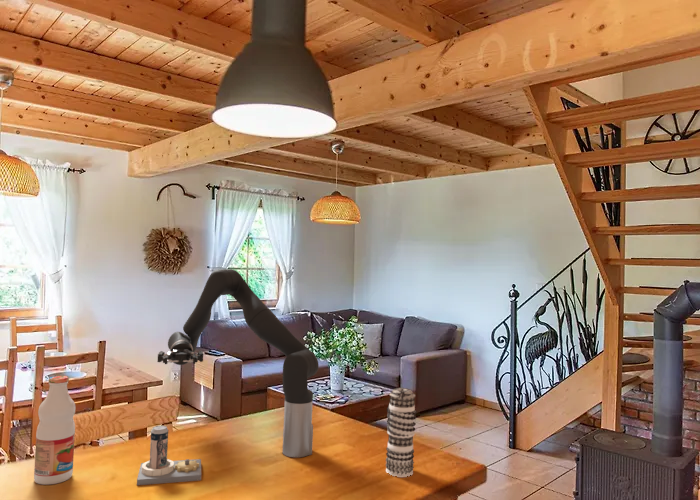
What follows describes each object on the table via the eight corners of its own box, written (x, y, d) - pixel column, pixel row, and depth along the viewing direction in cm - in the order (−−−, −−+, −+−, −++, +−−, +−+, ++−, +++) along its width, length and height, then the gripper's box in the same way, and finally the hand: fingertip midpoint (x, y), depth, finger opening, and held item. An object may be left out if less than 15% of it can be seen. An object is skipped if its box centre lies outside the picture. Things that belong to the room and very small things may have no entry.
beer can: (160, 473, 147) (162, 431, 147) (145, 471, 148) (147, 429, 148) (169, 467, 152) (171, 425, 152) (155, 465, 153) (157, 424, 153)
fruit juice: (40, 472, 148) (46, 373, 149) (76, 470, 150) (81, 373, 151) (28, 486, 139) (33, 381, 140) (66, 484, 141) (72, 381, 142)
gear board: (200, 464, 159) (201, 451, 159) (201, 480, 147) (201, 467, 148) (141, 468, 154) (141, 455, 154) (136, 485, 143) (137, 471, 143)
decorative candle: (394, 479, 153) (398, 394, 154) (378, 468, 161) (382, 387, 162) (420, 475, 157) (423, 392, 158) (403, 464, 166) (406, 385, 166)
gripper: (160, 341, 179) (157, 349, 163) (203, 340, 183) (204, 348, 167) (159, 362, 179) (155, 373, 163) (202, 362, 183) (203, 372, 167)
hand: (180, 360), depth 165 cm, fingers open, 8 cm apart
